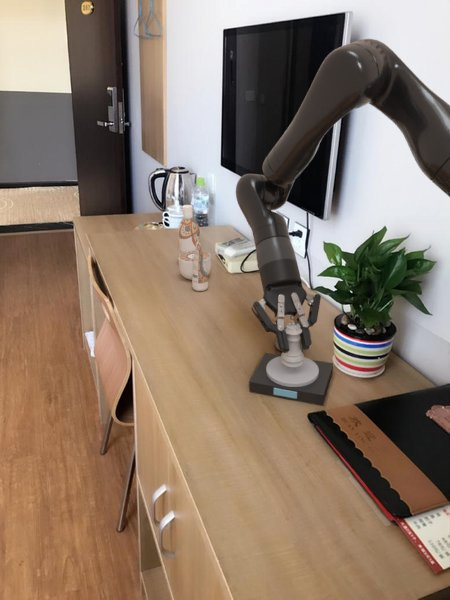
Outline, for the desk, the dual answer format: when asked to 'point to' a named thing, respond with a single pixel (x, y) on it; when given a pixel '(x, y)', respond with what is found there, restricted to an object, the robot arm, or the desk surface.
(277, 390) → the scale
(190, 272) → the cosmetic set
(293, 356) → the rook chess piece
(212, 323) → the desk surface
